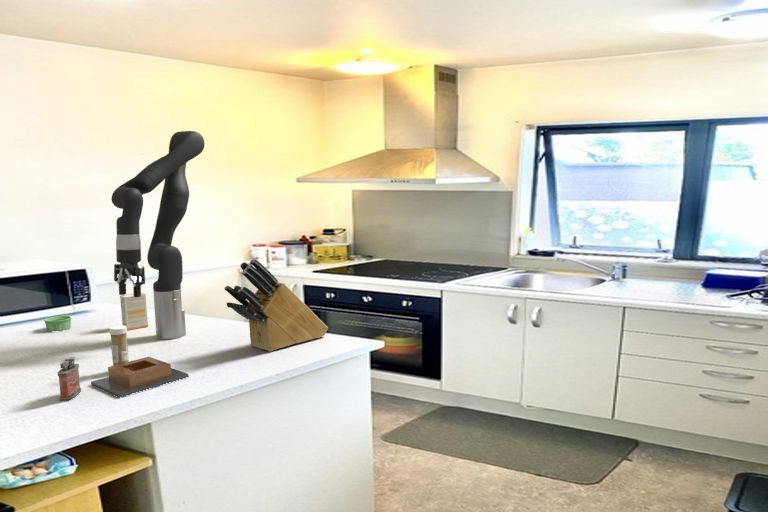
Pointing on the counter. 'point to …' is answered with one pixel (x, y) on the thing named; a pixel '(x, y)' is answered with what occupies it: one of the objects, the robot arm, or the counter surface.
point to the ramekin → (58, 323)
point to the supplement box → (134, 311)
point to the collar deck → (129, 391)
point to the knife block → (273, 311)
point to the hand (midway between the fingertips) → (129, 295)
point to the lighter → (69, 379)
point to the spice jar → (119, 344)
